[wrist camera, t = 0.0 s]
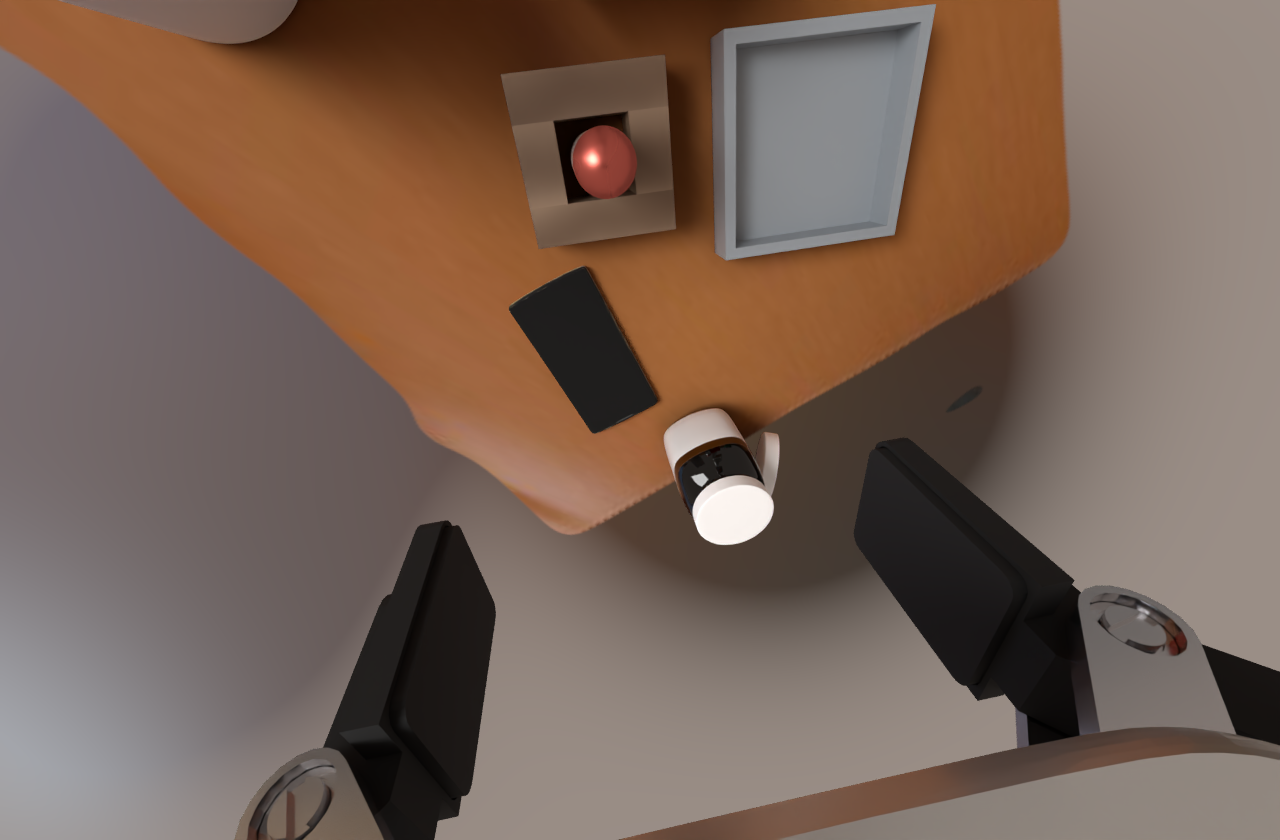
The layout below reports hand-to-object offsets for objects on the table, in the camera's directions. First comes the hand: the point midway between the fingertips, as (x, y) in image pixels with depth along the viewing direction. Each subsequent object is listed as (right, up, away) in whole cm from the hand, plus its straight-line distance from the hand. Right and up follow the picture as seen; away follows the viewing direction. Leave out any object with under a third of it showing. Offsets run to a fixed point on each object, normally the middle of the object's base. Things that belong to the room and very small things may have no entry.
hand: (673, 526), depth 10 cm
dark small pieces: (-6, +9, +32) cm, 33 cm away
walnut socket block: (-4, +22, +23) cm, 32 cm away
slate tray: (+12, +24, +24) cm, 36 cm away
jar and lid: (+8, 0, +38) cm, 39 cm away
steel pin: (-4, +22, +23) cm, 32 cm away
